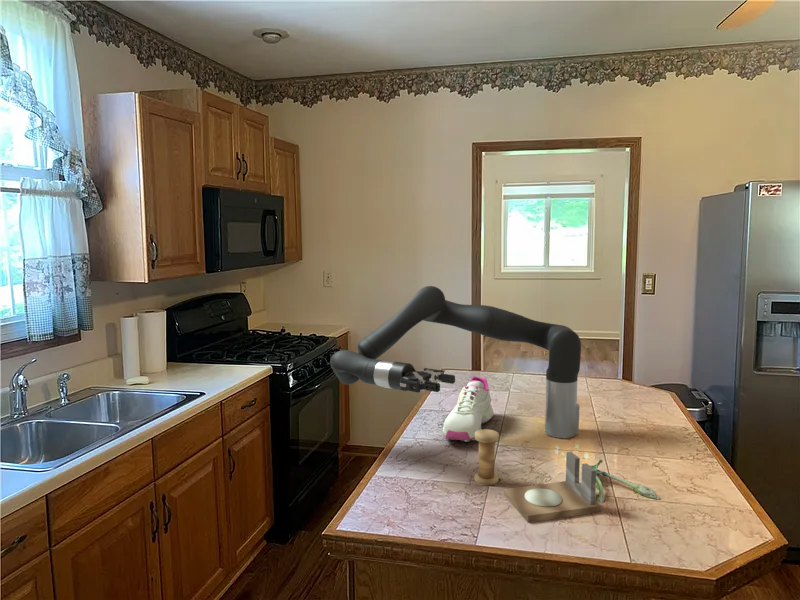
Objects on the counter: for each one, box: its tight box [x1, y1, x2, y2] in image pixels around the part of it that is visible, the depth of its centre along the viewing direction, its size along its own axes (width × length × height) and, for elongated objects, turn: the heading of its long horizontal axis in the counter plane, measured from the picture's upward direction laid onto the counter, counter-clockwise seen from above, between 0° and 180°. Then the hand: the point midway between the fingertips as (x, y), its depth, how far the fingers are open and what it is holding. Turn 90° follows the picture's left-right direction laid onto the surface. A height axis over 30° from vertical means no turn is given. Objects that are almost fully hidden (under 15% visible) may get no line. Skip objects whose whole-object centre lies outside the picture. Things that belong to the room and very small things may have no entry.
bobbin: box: [474, 428, 500, 486], centre depth 146 cm, size 6×6×12 cm
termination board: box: [503, 451, 602, 523], centre depth 134 cm, size 18×13×10 cm
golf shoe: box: [442, 375, 495, 443], centre depth 180 cm, size 12×33×15 cm, turn 161°
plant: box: [590, 458, 660, 504], centre depth 143 cm, size 15×16×6 cm
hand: (447, 383), depth 149 cm, fingers open, 8 cm apart
